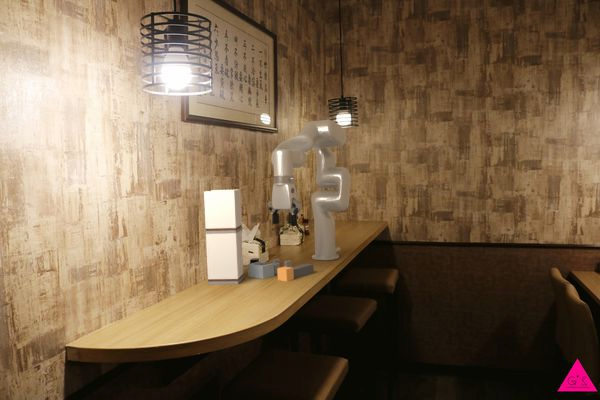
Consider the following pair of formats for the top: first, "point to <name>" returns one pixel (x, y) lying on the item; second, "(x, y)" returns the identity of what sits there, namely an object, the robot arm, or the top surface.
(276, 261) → the clip
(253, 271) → the end holder
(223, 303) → the top surface
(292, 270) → the orange and grey bar
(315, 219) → the robot arm
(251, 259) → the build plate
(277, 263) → the clip
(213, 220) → the white banded pillar
